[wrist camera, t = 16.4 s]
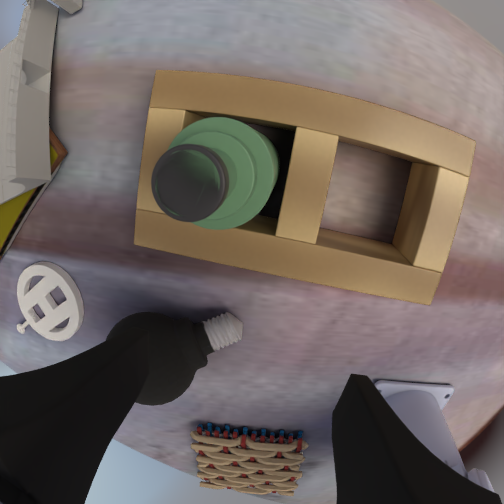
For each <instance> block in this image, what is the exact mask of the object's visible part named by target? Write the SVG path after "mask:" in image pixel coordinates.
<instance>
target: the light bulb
mask: <svg viewBox="0 0 504 504" xmlns="http://www.w3.org/2000/svg"><path fill="white" fill-rule="evenodd" d="M133 326H134V327H138V328H141V329H144V330H148V331H149V375H148V377H147V379H146V381H145V384H144V386H143V388H142V390H141V392H140V395H139V396H138V398H137V400H136V401H135V402H136V403H139V404H143V405H162V404H165V403H168V402H171V401H173V400H175V399H176V398H178V397H179V396H180V395H182V394H183V393H184V392H185V391H186V389H187V388H188V387H189V386H190V384H191V382H192V380H193V378H194V375H195V372H196V371H197V370H198V369H200V368H202V367H205V366H206V365H207V362H208V360H207V355H208V354H210V353H212V352H215V350H216V349H217V350H219V348H220V347H221V348H224V346H228V345H229V344H231V345H232V344H233V342H235V343H237V341H238V340H240V341H241V338H242V330H243V323H242V322H241V321H240V320H238V319H237V318H236V317H234V316H233V315H232V314H230V313H228V312H225V314H221V316H217V317H216V318H214V317H212V319H211V320H210V319H208V321H207V322H205V321H202V322H199V323H197V324H193V323H192V321H191V320H190V319H189V318H187V317H184V318H182V319H179V320H173V319H171V318H169V317H167V316H165V315H163V314H159V313H153V312H141V313H136V314H132V315H130V316H128V317H126V318H124V319H122V320H121V321H120V322H118V323H117V324H116V325H115V326H114V327H113V328H112V330H111V331H110V333H109V335H108V336H107V339H106V341H107V340H109V339H111V338H112V337H114V336H116V335H118V334H120V333H122V332H123V331H125V330H127V329H129V328H131V327H133Z"/></svg>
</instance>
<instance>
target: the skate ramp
mask: <svg viewBox="0 0 504 504" xmlns="http://www.w3.org/2000/svg"><path fill="white" fill-rule="evenodd" d="M26 1H27V4H28V6H26V7H25V9H24V11H23V15H22V19H21V24H20V28H19V33H18V36H17V37H16V38H15V39H13V40H12V41H11V42H10V43H8V44H7V45H6V46H5V47H4V48H3V49H1V50H0V205H1V204H3V203H5V202H7V201H9V200H11V199H13V198H15V197H17V196H19V195H21V194H23V193H25V192H27V191H29V190H31V189H33V188H35V187H38V186H40V185H42V184H44V183H46V182H49V181H51V168H50V148H49V95H50V77H51V64H52V53H53V44H54V36H55V29H56V22H57V16H58V10H59V8H57V7H56V6H54V5H53V4H51V3H50V2H48V1H47V0H26ZM51 1H53V2H54V3H56V4H57V5H59V6H60V7H61V8H63V9H64V10H66V11H67V12H69V13H70V14H72V13H74V12H76V11H77V10H79V9H81V8H82V1H83V0H51ZM24 6H25V5H24ZM12 42H13V43H12ZM11 47H12V48H11ZM9 58H10V59H9ZM8 64H9V65H8ZM7 71H8V72H7ZM6 78H7V79H6ZM5 86H6V87H5ZM4 95H5V97H4ZM3 106H4V108H3ZM2 120H3V123H2ZM2 185H3V189H2ZM3 201H4V202H3Z"/></svg>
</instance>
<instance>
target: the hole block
mask: <svg viewBox="0 0 504 504" xmlns="http://www.w3.org/2000/svg"><path fill="white" fill-rule="evenodd" d="M149 107H150V108H149V112H148V118H147V124H146V130H145V137H144V144H143V151H142V159H141V167H140V176H139V185H138V195H137V206H136V207H137V209H136V218H135V232H134V245H139V246H143V247H147V248H152V249H156V250H161V251H165V252H170V253H174V254H179V255H183V256H188V257H192V258H197V259H202V260H206V261H211V262H215V263H220V264H225V265H229V266H234V267H239V268H243V269H248V270H253V271H258V272H262V273H267V274H272V275H277V276H282V277H287V278H291V279H296V280H301V281H306V282H311V283H316V284H321V285H326V286H331V287H336V288H341V289H346V290H351V291H356V292H361V293H366V294H372V295H377V296H382V297H387V298H392V299H398V300H403V301H408V302H414V303H419V304H424V305H430V304H431V302H432V299H433V297H434V294H435V292H436V289H437V286H438V284H439V281H440V278H441V275H442V273H441V272H443V269H444V267H445V264H446V261H447V258H448V255H449V252H450V248H451V245H452V242H453V239H454V235H455V232H456V229H457V225H458V222H459V218H460V214H461V210H462V207H463V203H464V198H465V194H466V190H467V186H468V181H469V177H470V173H471V168H472V162H473V157H474V151H475V146H476V141H475V140H473V139H470V138H468V137H466V136H464V135H461V134H459V133H456V132H454V131H452V130H449V129H447V128H444V127H442V126H439V125H437V124H434V123H431V122H429V121H426V120H423V119H420V118H418V117H415V116H412V115H409V114H406V113H403V112H400V111H397V110H394V109H391V108H388V107H385V106H381V105H378V104H375V103H371V102H368V101H364V100H360V99H357V98H353V97H349V96H345V95H341V94H337V93H333V92H329V91H324V90H320V89H315V88H311V87H306V86H301V85H295V84H290V83H285V82H279V81H273V80H266V79H260V78H253V77H245V76H237V75H228V74H218V73H207V72H193V71H173V70H156V74H155V78H154V83H153V89H152V94H151V99H150V105H149ZM206 117H208V118H210V117H226V118H231V119H235V120H237V121H240V122H245V123H251V124H257V125H263V126H269V127H274V128H280V129H285V130H290V131H295V137H294V142H293V147H292V152H291V158H290V163H289V168H288V173H287V178H286V183H285V188H284V193H283V198H282V203H281V208H280V213H279V218H278V219H276V218H271V217H266V216H261V215H256V216H255V217H253V218H252V219H251V220H249V221H248V222H246V223H244V224H242V225H240V226H238V227H235V228H231V229H225V230H212V229H206V228H202V227H199V226H197V225H195V224H193V223H191V222H182V221H178V220H176V219H173V218H171V217H170V216H168V215H167V214H165V213H164V212H163V211H162V210H161V209H160V207H159V206H158V204H157V203H156V201H155V199H154V196H153V193H152V188H151V177H152V172H153V169H154V167H155V165H156V163H157V161H158V160H159V158H160V157H161V156H162V155H163V154H164V153H165V152H166V151H167V150H168V148H169V146H170V144H171V142H172V141H173V139H174V138H175V137H176V136H177V135H178V134H179V133H180V132H181V131H182V130H183V129H184V128H186V127H187V126H189V125H190V124H192V123H194V122H196V121H199V120H202V119H205V118H206ZM338 141H340V142H344V143H348V144H352V145H356V146H359V147H363V148H367V149H370V150H374V151H378V152H381V153H385V154H388V155H391V156H395V157H398V158H401V159H404V160H408V161H411V162H413V163H412V166H411V170H410V175H409V179H408V184H407V188H406V192H405V196H404V201H403V205H402V209H401V212H400V216H399V220H398V224H397V227H396V231H395V235H394V238H393V241H392V244H389V243H384V242H380V241H376V240H372V239H367V238H363V237H359V236H354V235H350V234H346V233H341V232H337V231H332V230H328V229H323V228H320V223H321V219H322V215H323V210H324V206H325V201H326V197H327V192H328V188H329V183H330V179H331V174H332V169H333V164H334V159H335V155H336V150H337V145H338Z"/></svg>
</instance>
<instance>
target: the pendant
mask: <svg viewBox="0 0 504 504" xmlns="http://www.w3.org/2000/svg"><path fill="white" fill-rule="evenodd" d="M37 275H41V276H45V277H44V278H43V279H42V280H41V281H40V282H39V283H37V284H36V285H35V286H34V287H33V288H32V289H31V290H30V291H29V286H30V282H31V280H32V278H33V277H34V276H37ZM57 286H59V287H60V289H61V290H62V291H63V293H64V295H65V297H66V299H67V300H66V301H64V302H63V303H62V304H60V305H59V306H58V305H57V304H56V302H55V301H54V299H53V298H52V296H51V295H50V292H51V291H52V290H54V289H55V288H56V287H57ZM17 296H18V302H19V305H20V308H21V311H22V313H23V315H24V317H25V319H26V320H27V321H26V322H24V323H23V324H17V330H18V331H19V332H20V333H21V334H23V333H24V332H25V327H26V326H27V325H28V324H30V325H31V327H32V328H33V329H34V330H35V331H36V332H38V333H39V334H40V335H42V336H43V337H45V338H47V339H50V340H53V341H64V340H66V339H69V338H70V337H71V336H72V335H73V334H74V333H75V332H76V331H78V330H79V328H80V326H81V324H82V322H83V317H84V306H83V300H82V297H81V294H80V291H79V289H78V287H77V285H76V284H75V282H74V281H73V279H72V278H71V277H70V276H69V274H68V273H67V272H66V271H64V270H63V269H62V268H61V267H60V266H57V265H55V264H53V263H51V262H44V261H42V262H37V263H34V264H33V265H31V266H29V267H28V268H26V269H25V270H24V271H23V272H22V274H21V275H20V277H19V281H18V284H17ZM37 303H38V305H39V306H40V308H41V310H42V311H43V313H44V314H45V315H46V316H45V317H43V318H42V319H40V318H39V316H38V315H37V314H36V312H35V311H34V309H33V307H34V306H35V305H36V304H37ZM68 317H70V318H69V323H68V325H67V326H66V327H64V328H55V326H57V325H58V324H60V323H61V322H63V321H64V320H65V319H67V318H68Z"/></svg>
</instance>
